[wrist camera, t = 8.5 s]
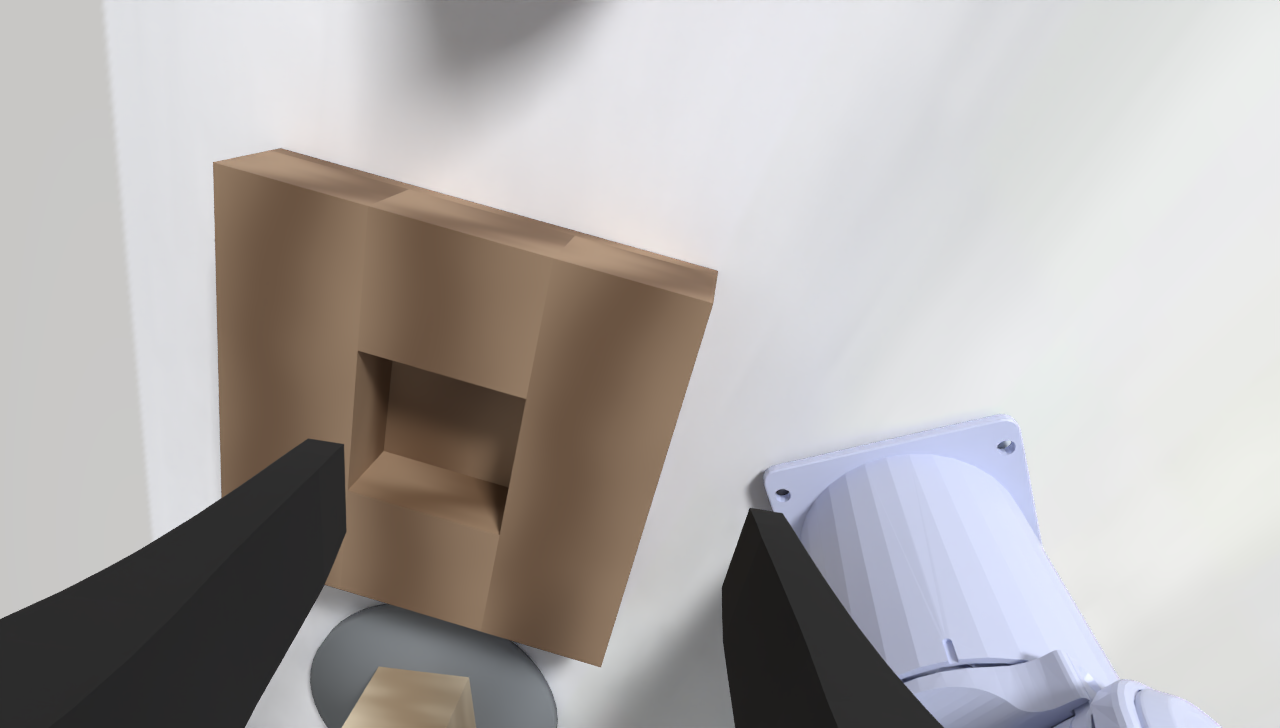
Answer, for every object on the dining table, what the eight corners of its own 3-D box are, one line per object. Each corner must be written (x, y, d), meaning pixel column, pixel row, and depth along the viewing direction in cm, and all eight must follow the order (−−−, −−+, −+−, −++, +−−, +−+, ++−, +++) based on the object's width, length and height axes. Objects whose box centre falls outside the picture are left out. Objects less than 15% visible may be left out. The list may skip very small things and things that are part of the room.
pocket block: (717, 271, 21) (713, 303, 18) (615, 605, 27) (600, 667, 24) (280, 148, 22) (213, 162, 19) (274, 504, 28) (223, 554, 25)
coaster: (594, 771, 31) (592, 784, 31) (389, 795, 34) (383, 807, 34) (493, 581, 28) (488, 592, 27) (273, 626, 31) (264, 637, 30)
